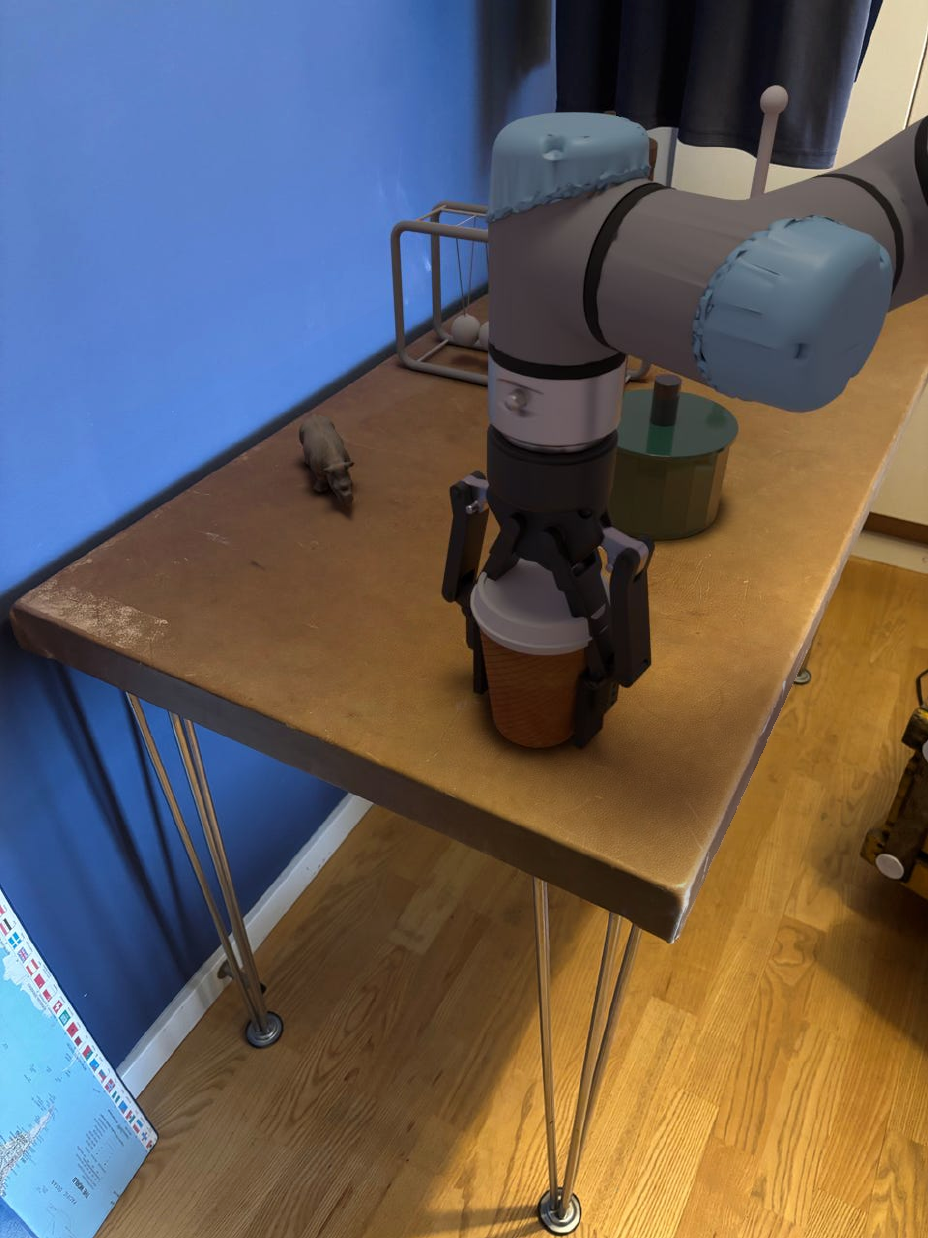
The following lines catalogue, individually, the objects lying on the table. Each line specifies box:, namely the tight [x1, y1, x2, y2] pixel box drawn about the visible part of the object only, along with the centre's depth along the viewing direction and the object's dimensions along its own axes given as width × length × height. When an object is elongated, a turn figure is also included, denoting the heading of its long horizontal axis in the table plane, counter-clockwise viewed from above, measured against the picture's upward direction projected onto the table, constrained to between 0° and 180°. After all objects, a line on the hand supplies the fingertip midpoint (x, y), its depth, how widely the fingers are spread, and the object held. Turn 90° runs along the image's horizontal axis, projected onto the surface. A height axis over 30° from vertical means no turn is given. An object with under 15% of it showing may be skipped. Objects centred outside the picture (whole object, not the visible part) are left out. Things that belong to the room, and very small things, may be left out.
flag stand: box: [749, 85, 789, 198], centre depth 109 cm, size 13×13×30 cm
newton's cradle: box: [389, 200, 652, 392], centre depth 108 cm, size 30×10×18 cm, turn 62°
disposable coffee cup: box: [471, 558, 610, 748], centre depth 63 cm, size 10×10×12 cm
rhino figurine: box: [298, 413, 355, 507], centre depth 90 cm, size 4×14×6 cm, turn 21°
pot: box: [608, 446, 731, 541], centre depth 87 cm, size 13×13×8 cm
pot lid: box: [616, 373, 740, 461], centre depth 83 cm, size 14×14×5 cm
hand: (536, 709), depth 66 cm, fingers closed on disposable coffee cup, 8 cm apart
